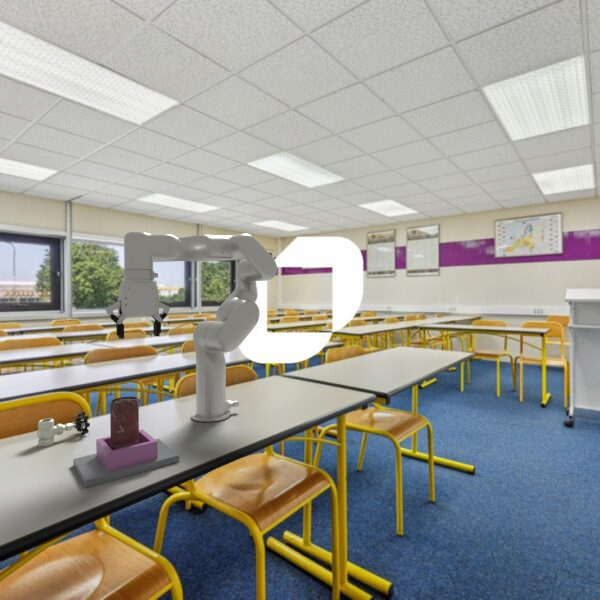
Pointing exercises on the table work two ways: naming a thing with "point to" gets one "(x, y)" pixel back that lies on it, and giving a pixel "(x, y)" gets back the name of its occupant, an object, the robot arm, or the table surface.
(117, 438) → the can
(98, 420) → the table surface
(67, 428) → the valve
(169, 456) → the cup holder
